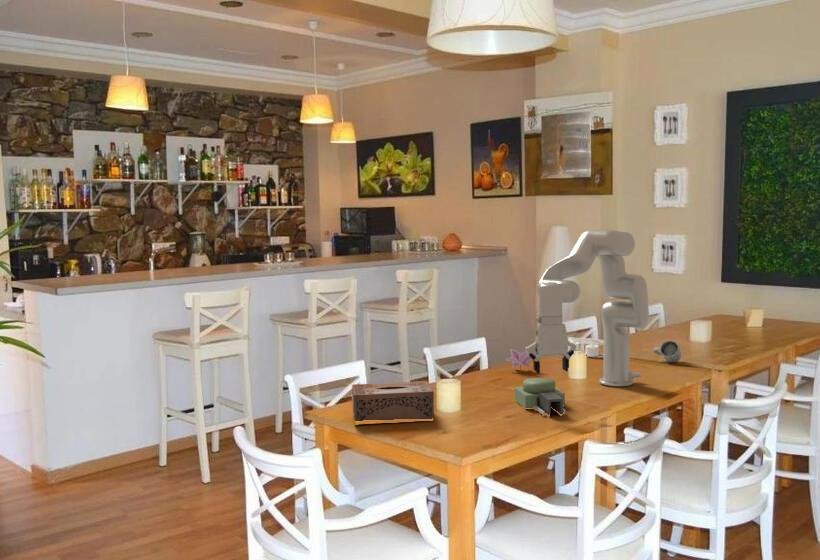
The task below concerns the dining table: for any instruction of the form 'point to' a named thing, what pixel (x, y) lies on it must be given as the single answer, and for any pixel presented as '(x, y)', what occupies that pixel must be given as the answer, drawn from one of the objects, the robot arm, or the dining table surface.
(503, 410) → the dining table surface
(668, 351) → the ceramic mug
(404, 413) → the tissue box cover
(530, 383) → the mower deck
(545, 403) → the chute
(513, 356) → the lily
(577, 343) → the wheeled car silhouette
